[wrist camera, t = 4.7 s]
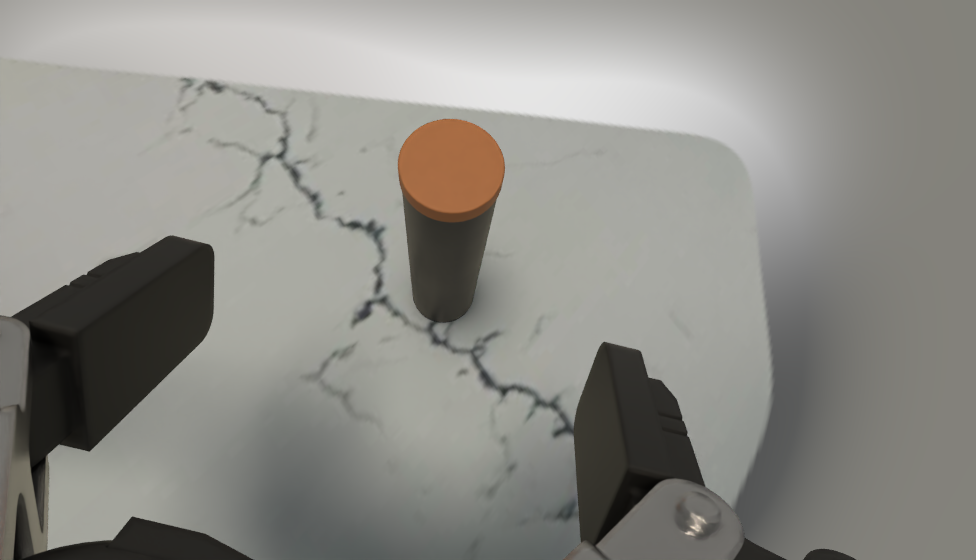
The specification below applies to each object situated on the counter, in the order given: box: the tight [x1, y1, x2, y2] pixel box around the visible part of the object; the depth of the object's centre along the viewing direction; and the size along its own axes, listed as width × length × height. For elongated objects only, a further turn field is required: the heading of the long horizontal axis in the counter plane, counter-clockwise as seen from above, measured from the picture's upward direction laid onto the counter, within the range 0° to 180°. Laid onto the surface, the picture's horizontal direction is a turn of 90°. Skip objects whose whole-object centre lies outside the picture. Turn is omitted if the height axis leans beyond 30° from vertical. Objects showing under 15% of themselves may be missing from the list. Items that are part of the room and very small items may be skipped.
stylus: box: [398, 119, 505, 322], centre depth 20 cm, size 3×3×11 cm
